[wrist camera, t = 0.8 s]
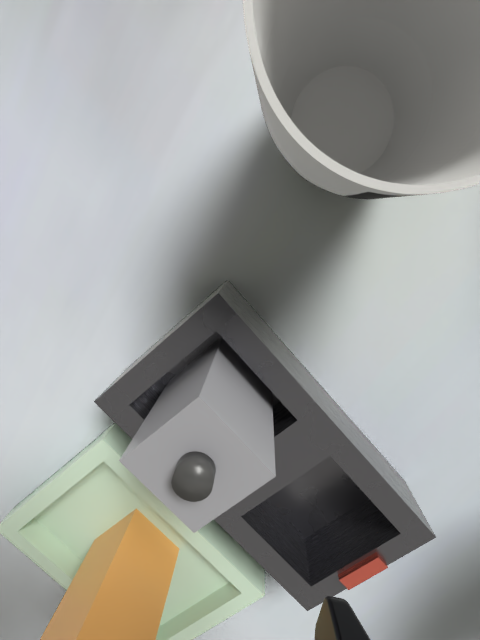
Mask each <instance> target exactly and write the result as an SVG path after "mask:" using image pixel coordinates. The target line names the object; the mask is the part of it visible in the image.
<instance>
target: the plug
mask: <svg viewBox="0 0 480 640" xmlns="http://www.w3.org/2000/svg"><path fill="white" fill-rule="evenodd" d="M178 553H179V548H178V547H177V546H176V545H175V544H174V543H173V542H172V541H171V540H169V539H168V538H167V537H166V536H165V535H164V534H163V533H162V532H161V531H160V530H159V529H158V528H157V527H156V526H155V525H154V524H153V523H151V522H150V521H149V520H148V519H147V518H146V517H145V516H144V515H143V514H142V513H141V512H140V511H139V510H138V509H137V508H136V509H135V510H134V511H132V512H131V513H130V514H128V515H127V516H125V517H124V518H123V519H121V520H120V521H119V522H117V523H116V524H115V525H113V526H112V527H111V528H109V529H108V530H107V531H105V532H104V533H103V534H101V535H100V536H99V537H97V538H96V539H95V540H94V542H93V544H92V545H91V547H90V549H89V551H88V553H87V555H86V556H85V558H84V560H83V562H82V564H81V565H80V567H79V569H78V571H77V573H76V575H75V576H74V578H73V580H72V582H71V584H70V586H69V587H68V589H67V591H66V593H65V595H64V597H63V598H62V600H61V602H60V604H59V606H58V608H57V609H56V611H55V613H54V615H53V617H52V618H51V620H50V622H49V624H48V626H47V628H46V629H45V631H44V633H43V635H42V637H41V639H40V640H156V636H157V632H158V628H159V625H160V621H161V617H162V613H163V610H164V606H165V602H166V598H167V595H168V591H169V587H170V583H171V580H172V576H173V572H174V568H175V564H176V561H177V557H178Z"/></svg>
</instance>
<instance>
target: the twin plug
mask: <svg viewBox="0 0 480 640" xmlns="http://www.w3.org/2000/svg"><path fill="white" fill-rule="evenodd" d="M119 461H120V462H121V463H122V464H123V465H124V466H125V467H126V468H127V469H128V470H129V471H130V472H131V473H132V474H133V475H134V476H135V477H136V478H137V479H138V480H139V481H140V482H141V483H142V484H143V485H144V486H146V487H147V488H148V489H149V490H150V491H151V492H152V493H153V494H154V495H155V496H156V497H157V498H158V499H159V500H160V501H161V502H162V503H163V504H164V505H165V506H166V507H167V508H168V509H169V510H170V511H172V512H173V513H174V514H175V515H176V516H177V517H178V518H179V519H180V520H181V521H182V522H183V523H184V524H185V525H186V526H187V527H188V528H189V529H190V530H191V531H192V532H193V533H195V532H196V531H198V530H199V529H201V528H202V527H204V526H205V525H206V524H208V523H209V522H211V521H212V520H214V519H215V518H217V517H218V516H219V515H221V514H222V513H224V512H225V511H227V510H228V509H230V508H231V507H232V506H234V505H235V504H237V503H238V502H240V501H241V500H243V499H244V498H245V497H247V496H248V495H250V494H251V493H253V492H254V491H256V490H257V489H258V488H260V487H261V486H263V485H264V484H266V483H267V482H269V481H270V480H271V479H273V478H274V477H276V470H275V448H274V426H273V404H272V392H271V390H270V389H269V388H268V387H267V386H266V385H265V384H264V383H263V382H262V381H261V379H260V378H259V377H258V376H257V375H256V374H255V373H254V372H253V371H252V370H251V369H250V367H249V366H248V365H247V364H246V363H245V362H244V361H243V360H242V359H241V358H240V356H239V355H238V354H237V353H236V352H235V351H234V350H233V349H232V348H231V347H230V345H229V344H228V343H227V342H226V341H225V340H224V339H223V338H222V337H221V338H220V339H218V340H217V341H216V342H215V343H214V344H212V345H211V346H210V347H209V348H208V349H206V350H205V351H204V352H203V353H202V354H201V355H199V356H198V357H197V358H196V359H195V360H193V361H192V362H191V363H190V364H189V365H187V366H186V367H185V368H184V369H183V370H181V371H180V372H179V373H178V374H177V375H175V376H174V377H173V378H172V379H171V380H169V382H168V383H167V385H166V387H165V388H164V390H163V391H162V393H161V395H160V396H159V398H158V399H157V401H156V403H155V404H154V406H153V407H152V409H151V410H150V412H149V414H148V415H147V417H146V418H145V420H144V422H143V423H142V425H141V426H140V428H139V430H138V431H137V433H136V434H135V436H134V438H133V439H132V441H131V442H130V444H129V445H128V447H127V449H126V450H125V452H124V453H123V455H122V457H121V458H120V460H119Z"/></svg>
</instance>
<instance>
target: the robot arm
mask: <svg viewBox="0 0 480 640" xmlns="http://www.w3.org/2000/svg"><path fill="white" fill-rule="evenodd" d="M315 640H370V638H369V636H368V635H367V633H366V631H365V630H364V628H363V626H362V625H361V623H360V621H359V620H358V618H357V616H356V615H355V613H354V611H353V610H352V608H351V606H350V605H349V603H348V602H347V601H346V600H344V599H341V598H336V597H331V596H327V597H326V598H325V599H324V601H323V604H322V607H321V611H320V614H319V617H318V620H317V623H316V628H315Z"/></svg>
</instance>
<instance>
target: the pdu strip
mask: <svg viewBox="0 0 480 640" xmlns="http://www.w3.org/2000/svg"><path fill="white" fill-rule="evenodd" d="M221 337H222V338H223V339H224V340H225V341H226V342H227V343H228V344H229V345H230V347H231V348H232V349H233V350H234V351H235V352H236V353H237V354H238V355H239V356H240V358H241V359H242V360H243V361H244V362H245V363H246V364H247V365H248V366H249V367H250V369H251V370H252V371H253V372H254V373H255V374H256V375H257V376H258V377H259V378H260V379H261V381H262V382H263V383H264V384H265V385H266V386H267V387H268V388H269V389H270V390H271V392H272V404H273V426H274V448H275V470H276V477H274V478H273V479H271V480H270V481H269V482H267V483H266V484H264V485H263V486H261V487H260V488H258V489H257V490H256V491H254V492H253V493H251V494H250V495H248V496H247V497H245V498H244V499H243V500H241V501H240V502H238V503H237V504H235V505H234V506H232V507H231V508H230V509H228V510H227V511H225V512H224V513H222V514H221V515H219V516H218V517H217V518H215V519H214V520H215V521H216V522H217V523H218V524H219V525H220V526H221V527H222V528H223V529H224V530H225V531H226V532H227V533H228V534H229V535H230V536H231V537H232V538H233V539H234V540H235V541H236V542H238V543H239V544H240V545H241V546H242V547H243V548H244V549H245V550H246V551H247V552H248V553H249V554H250V555H251V556H252V557H253V558H254V559H255V560H256V561H257V562H258V563H259V564H260V565H261V566H262V567H263V568H264V569H265V570H266V571H267V572H268V573H269V574H270V575H271V576H272V577H273V578H274V579H275V580H276V581H277V582H278V583H279V584H280V585H281V586H282V587H283V588H284V589H285V590H286V591H287V592H288V593H289V594H290V595H292V596H293V597H294V598H295V599H296V600H297V601H298V602H299V603H300V604H301V605H302V606H303V607H304V608H305V609H306V610H307V611H308V610H310V609H312V608H314V607H315V606H317V605H319V604H321V603H322V602H323V601H324V599H325V598H326V597H327V596H331V597H333V596H335V595H336V594H338V593H340V592H342V591H343V590H345V589H348V590H350V589H351V588H353V587H355V586H357V585H358V584H360V583H362V582H364V581H365V580H367V579H369V578H371V577H372V576H374V575H376V574H378V573H379V572H381V571H383V570H385V569H386V568H388V566H387V565H389V564H390V563H392V562H394V561H396V560H397V559H399V558H401V557H403V556H404V555H406V554H408V553H410V552H411V551H413V550H415V549H417V548H418V547H420V546H422V545H423V544H425V543H427V542H429V541H430V540H432V539H434V538H436V536H435V534H434V532H433V531H432V529H431V527H430V525H429V524H428V522H427V520H426V518H425V516H424V515H423V513H422V511H421V509H420V507H419V506H418V504H417V502H416V500H415V498H414V497H413V495H412V493H411V491H410V489H409V488H408V486H407V484H406V482H405V481H404V480H403V478H402V477H401V476H400V475H399V474H398V473H397V472H396V471H395V469H394V468H393V467H392V466H391V465H390V464H389V463H388V461H387V460H386V459H385V458H384V457H383V456H382V455H381V453H380V452H379V451H378V450H377V449H376V448H375V447H374V446H373V444H372V443H371V442H370V441H369V440H368V439H367V438H366V436H365V435H364V434H363V433H362V432H361V431H360V430H359V428H358V427H357V426H356V425H355V424H354V423H353V422H352V421H351V419H350V418H349V417H348V416H347V415H346V414H345V413H344V411H343V410H342V409H341V408H340V407H339V406H338V405H337V404H336V402H335V401H334V400H333V399H332V398H331V397H330V396H329V394H328V393H327V392H326V391H325V390H324V389H323V388H322V386H321V385H320V384H319V383H318V382H317V381H316V380H315V379H314V377H313V376H312V375H311V374H310V373H309V372H308V371H307V369H306V368H305V367H304V366H303V365H302V364H301V363H300V361H299V360H298V359H297V358H296V357H295V356H294V355H293V354H292V352H291V351H290V350H289V349H288V348H287V347H286V346H285V344H284V343H283V342H282V341H281V340H280V339H279V338H278V336H277V335H276V334H275V333H274V332H273V331H272V330H271V329H270V327H269V326H268V325H267V324H266V323H265V322H264V321H263V319H262V318H261V317H260V316H259V315H258V314H257V313H256V312H255V310H254V309H253V308H252V307H251V306H250V305H249V304H248V302H247V301H246V300H245V299H244V298H243V297H242V296H241V294H240V293H239V292H238V291H237V290H236V289H235V288H234V287H233V285H232V284H231V283H230V282H229V281H228V280H227V281H226V282H225V283H224V284H222V285H221V286H220V287H219V288H218V289H217V290H216V291H215V292H213V293H212V294H211V295H210V296H209V297H208V298H207V299H205V300H204V301H203V302H202V303H201V304H200V305H199V306H197V307H196V308H195V309H194V310H193V311H192V312H191V313H189V314H188V315H187V316H186V317H185V318H184V319H183V320H182V321H180V322H179V323H178V324H177V325H176V326H175V327H174V328H172V329H171V330H170V331H169V332H168V333H167V334H166V335H164V336H163V337H162V338H161V339H160V340H159V341H158V342H156V343H155V344H154V345H153V346H152V347H151V348H150V349H149V350H147V351H146V352H145V353H144V354H143V355H142V356H141V357H139V358H138V359H137V360H136V361H135V362H134V363H133V364H131V365H130V366H129V367H128V368H127V369H126V370H125V371H124V372H123V373H122V374H121V375H120V376H119V377H118V378H117V379H116V380H115V381H114V382H113V383H112V384H111V385H110V386H109V387H108V388H107V389H106V390H105V391H104V392H103V393H102V394H101V395H100V396H99V397H98V398H97V399H96V400H95V401H94V402H95V403H96V404H97V405H98V406H99V407H100V408H101V409H102V410H103V411H104V412H105V413H106V414H107V415H108V416H109V417H110V418H111V419H112V420H113V421H114V422H115V423H116V424H117V425H118V426H119V427H120V428H121V429H122V430H123V431H124V432H125V433H126V434H127V435H128V436H129V437H131V438H132V439H133V438H134V436H135V434H136V433H137V431H138V430H139V428H140V426H141V425H142V423H143V422H144V420H145V418H146V417H147V415H148V414H149V412H150V410H151V409H152V407H153V406H154V404H155V403H156V401H157V399H158V398H159V396H160V395H161V393H162V391H163V390H164V388H165V387H166V385H167V383H168V382H169V380H171V379H172V378H173V377H174V376H175V375H177V374H178V373H179V372H180V371H181V370H183V369H184V368H185V367H186V366H187V365H189V364H190V363H191V362H192V361H193V360H195V359H196V358H197V357H198V356H199V355H201V354H202V353H203V352H204V351H205V350H206V349H208V348H209V347H210V346H211V345H212V344H214V343H215V342H216V341H217V340H218V339H220V338H221Z"/></svg>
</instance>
